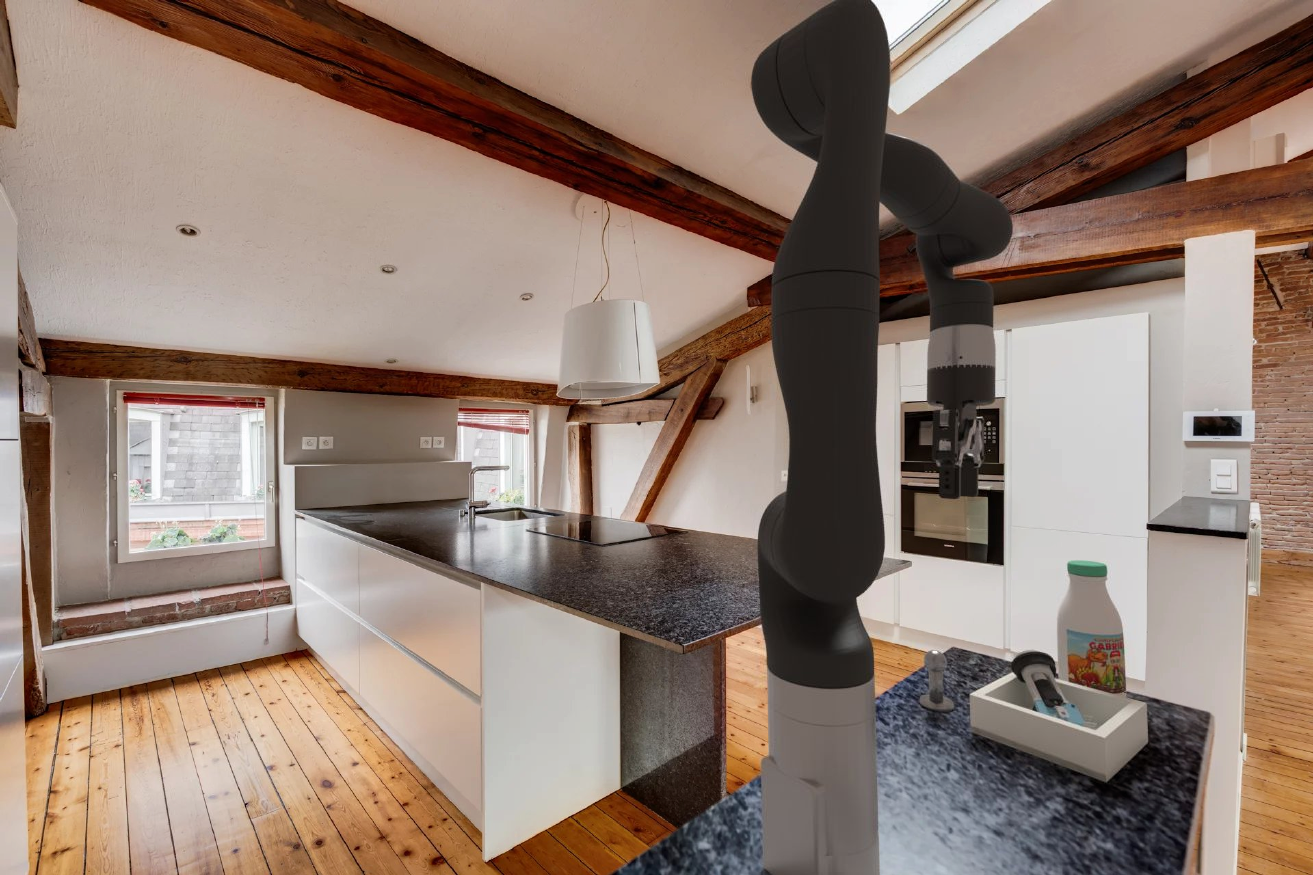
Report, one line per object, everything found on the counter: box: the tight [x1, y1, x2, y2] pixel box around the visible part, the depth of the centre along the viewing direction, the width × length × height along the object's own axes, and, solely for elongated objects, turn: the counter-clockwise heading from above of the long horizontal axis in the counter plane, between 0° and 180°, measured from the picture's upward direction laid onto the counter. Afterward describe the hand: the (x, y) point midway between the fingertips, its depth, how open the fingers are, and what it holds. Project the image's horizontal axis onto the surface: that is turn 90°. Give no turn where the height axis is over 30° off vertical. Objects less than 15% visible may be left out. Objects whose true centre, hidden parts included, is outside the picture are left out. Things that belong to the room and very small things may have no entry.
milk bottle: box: [1056, 559, 1127, 698], centre depth 82 cm, size 8×8×20 cm
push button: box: [1010, 649, 1096, 727], centre depth 75 cm, size 7×5×10 cm
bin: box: [969, 671, 1149, 784], centre depth 72 cm, size 14×14×5 cm
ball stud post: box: [919, 649, 955, 713], centre depth 82 cm, size 4×4×8 cm
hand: (959, 497), depth 71 cm, fingers open, 8 cm apart
